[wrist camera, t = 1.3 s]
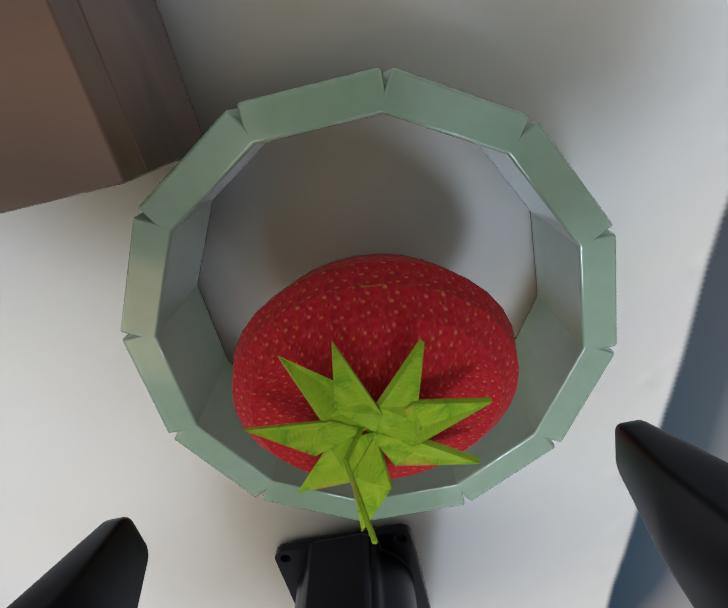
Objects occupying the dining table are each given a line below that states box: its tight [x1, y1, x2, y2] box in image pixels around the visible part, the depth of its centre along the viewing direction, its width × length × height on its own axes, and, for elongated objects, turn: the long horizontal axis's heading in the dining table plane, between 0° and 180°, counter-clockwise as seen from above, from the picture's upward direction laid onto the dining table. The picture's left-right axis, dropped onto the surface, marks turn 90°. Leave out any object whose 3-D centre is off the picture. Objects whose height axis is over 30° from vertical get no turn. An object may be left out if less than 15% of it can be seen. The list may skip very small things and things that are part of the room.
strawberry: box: [232, 254, 519, 544], centre depth 13 cm, size 6×8×10 cm
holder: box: [121, 67, 616, 521], centre depth 16 cm, size 14×14×4 cm
